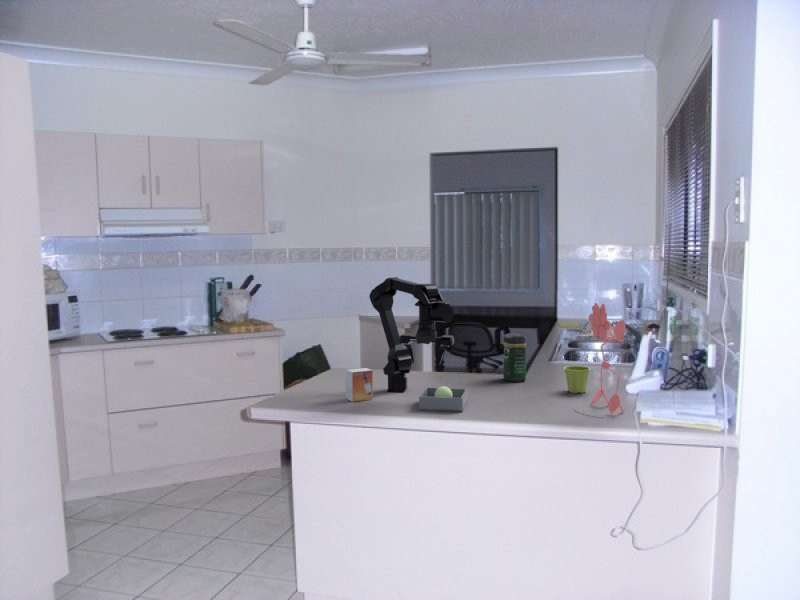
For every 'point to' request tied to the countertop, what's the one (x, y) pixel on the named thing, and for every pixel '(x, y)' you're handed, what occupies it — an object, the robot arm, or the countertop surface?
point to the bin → (443, 400)
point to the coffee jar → (514, 357)
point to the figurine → (599, 328)
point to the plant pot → (577, 378)
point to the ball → (443, 392)
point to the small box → (359, 384)
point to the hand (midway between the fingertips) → (426, 363)
